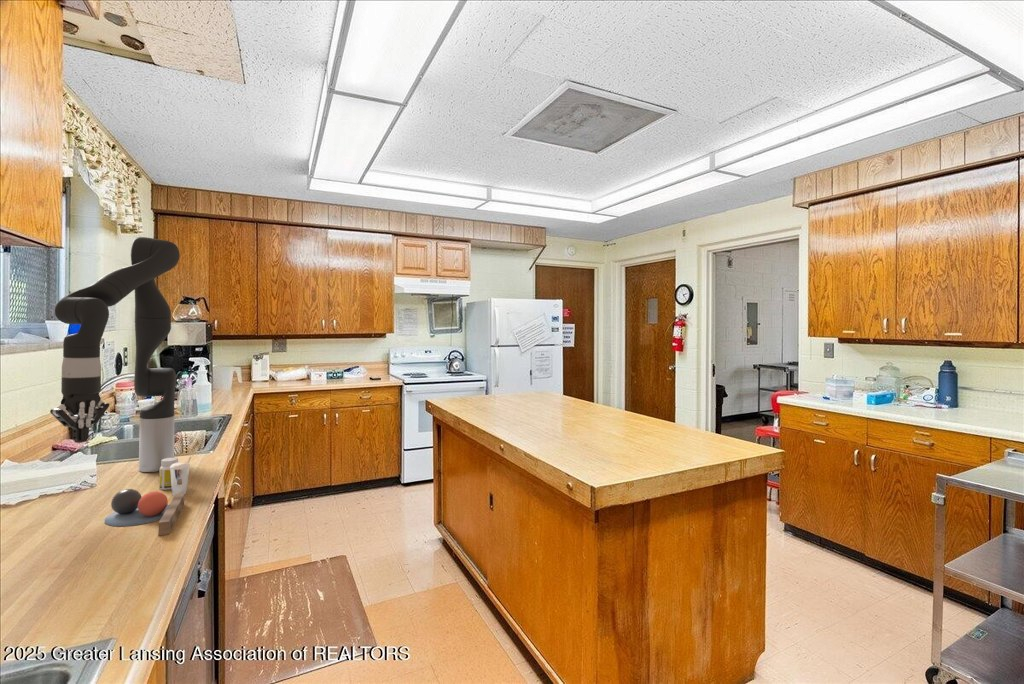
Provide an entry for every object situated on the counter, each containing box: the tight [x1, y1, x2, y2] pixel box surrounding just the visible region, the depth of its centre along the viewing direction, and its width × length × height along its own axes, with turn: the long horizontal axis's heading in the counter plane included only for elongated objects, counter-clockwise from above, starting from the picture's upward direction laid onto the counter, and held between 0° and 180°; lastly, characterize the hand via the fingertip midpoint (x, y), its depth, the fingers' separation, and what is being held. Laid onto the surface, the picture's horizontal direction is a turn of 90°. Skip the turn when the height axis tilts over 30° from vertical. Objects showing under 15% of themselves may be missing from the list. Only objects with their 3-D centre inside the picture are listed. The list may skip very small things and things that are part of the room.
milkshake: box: [170, 456, 192, 497], centre depth 134 cm, size 4×5×10 cm
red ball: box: [138, 490, 169, 516], centre depth 119 cm, size 6×6×6 cm
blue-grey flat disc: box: [104, 504, 169, 527], centre depth 119 cm, size 14×14×1 cm
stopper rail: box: [157, 493, 186, 536], centre depth 117 cm, size 20×2×3 cm, turn 26°
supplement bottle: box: [158, 457, 179, 491], centre depth 139 cm, size 5×5×8 cm
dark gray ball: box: [110, 488, 143, 514], centre depth 120 cm, size 6×6×6 cm
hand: (80, 441), depth 122 cm, fingers closed
